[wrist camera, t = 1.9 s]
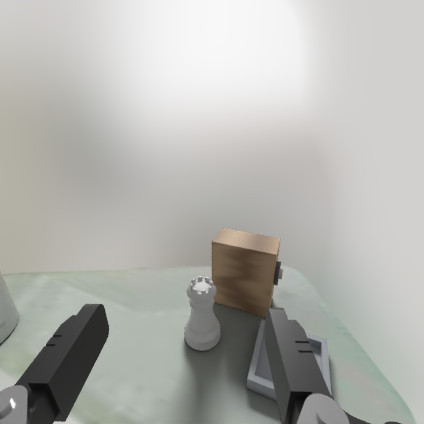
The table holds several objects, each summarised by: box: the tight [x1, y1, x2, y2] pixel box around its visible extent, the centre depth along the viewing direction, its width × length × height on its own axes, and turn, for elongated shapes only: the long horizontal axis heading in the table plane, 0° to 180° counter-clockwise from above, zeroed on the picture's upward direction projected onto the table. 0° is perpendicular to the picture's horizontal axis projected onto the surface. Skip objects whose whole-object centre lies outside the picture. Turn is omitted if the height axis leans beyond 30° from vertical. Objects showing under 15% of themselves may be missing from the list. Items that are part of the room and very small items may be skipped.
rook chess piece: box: [184, 276, 221, 351], centre depth 26 cm, size 4×4×8 cm
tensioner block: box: [212, 228, 283, 318], centre depth 31 cm, size 9×4×10 cm, turn 68°
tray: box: [246, 319, 332, 401], centre depth 24 cm, size 7×7×2 cm
